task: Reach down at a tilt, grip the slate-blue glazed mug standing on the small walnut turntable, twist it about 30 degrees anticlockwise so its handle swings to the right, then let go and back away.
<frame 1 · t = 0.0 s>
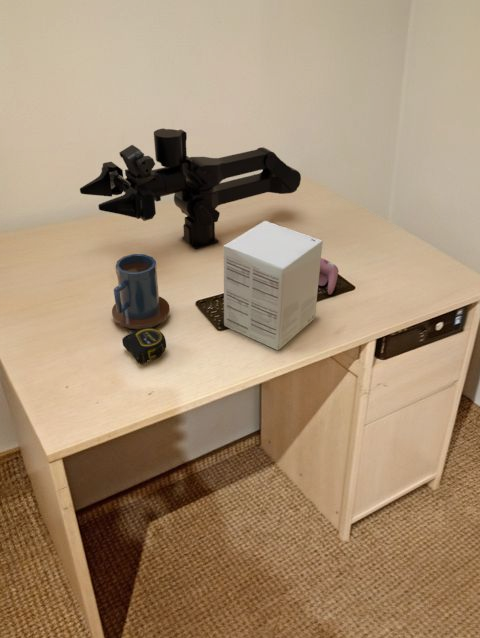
hand: (89, 199, 123), 17 cm above the table, tool horizontal, fingers open, 9 cm apart
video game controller: (313, 286, 131), on the table
turntable base: (141, 317, 119), on the table
tape measure: (144, 356, 110), on the table
supplement box: (269, 323, 119), on the table
mug: (137, 289, 115), point 7 cm above the table, hinge at 0.0°
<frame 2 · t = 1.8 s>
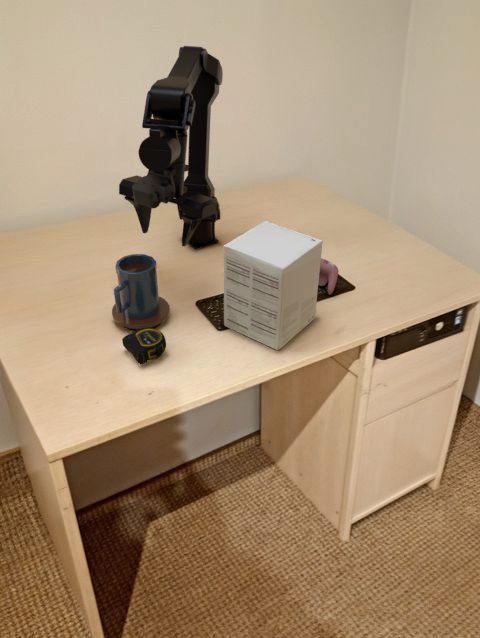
hand: (164, 239, 120), 12 cm above the table, tool pointing down, fingers open, 9 cm apart
nothing on the table moved.
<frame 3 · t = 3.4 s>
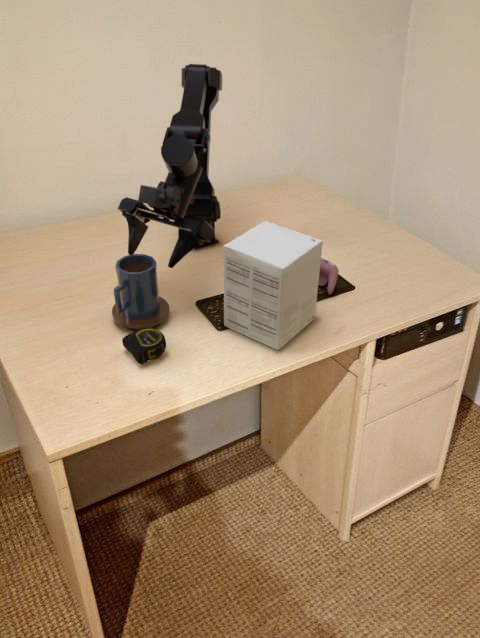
hand: (149, 261, 115), 11 cm above the table, tool tilted 45°, fingers open, 9 cm apart
nothing on the table moved.
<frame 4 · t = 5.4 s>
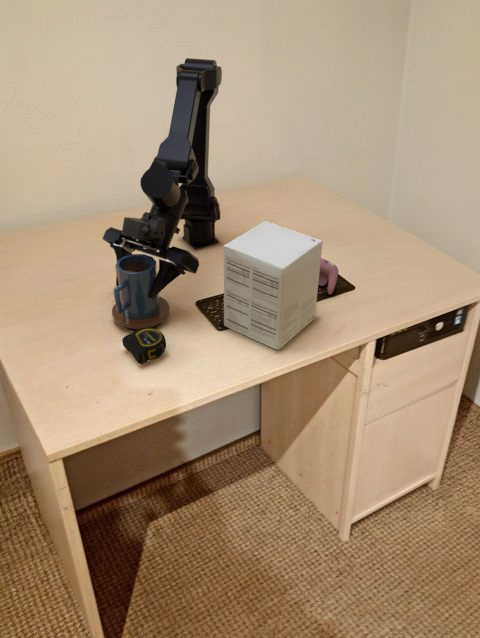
hand: (134, 292, 114), 7 cm above the table, tool tilted 45°, fingers closed on mug, 7 cm apart
mug: (137, 289, 115), point 7 cm above the table, hinge at -0.1°, touching gripper
everything else where it was.
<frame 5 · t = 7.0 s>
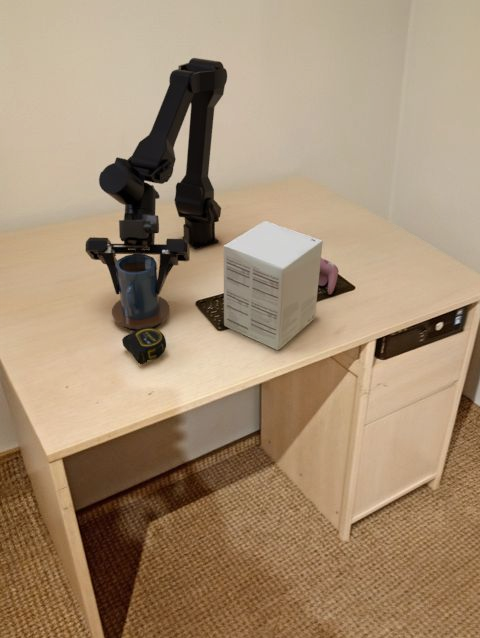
hand: (137, 293, 114), 7 cm above the table, tool tilted 45°, fingers closed on mug, 7 cm apart
mug: (138, 290, 115), point 7 cm above the table, hinge at 22.9°, touching gripper
everything else where it was.
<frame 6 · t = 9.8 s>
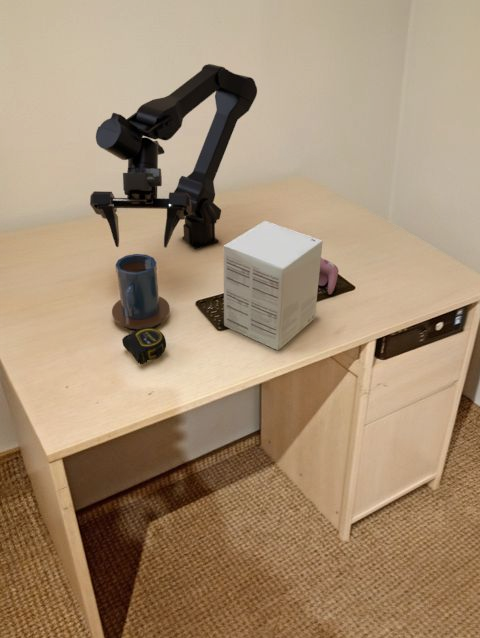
hand: (141, 246, 117), 12 cm above the table, tool tilted 45°, fingers open, 9 cm apart
mug: (138, 290, 115), point 7 cm above the table, hinge at 23.0°
everything else where it was.
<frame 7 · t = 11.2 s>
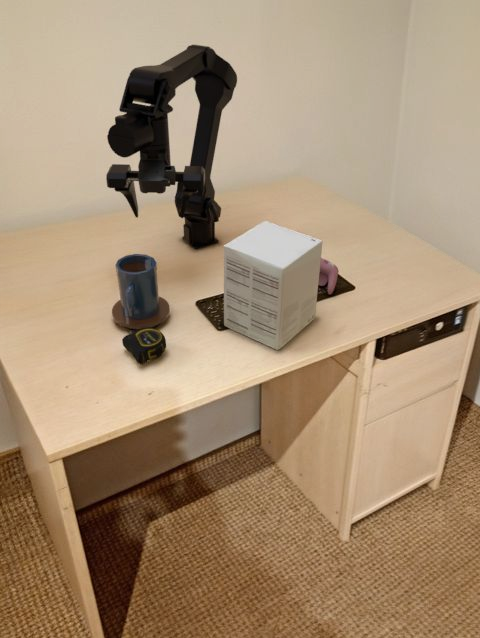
hand: (159, 217, 125), 13 cm above the table, tool pointing down, fingers open, 9 cm apart
nothing on the table moved.
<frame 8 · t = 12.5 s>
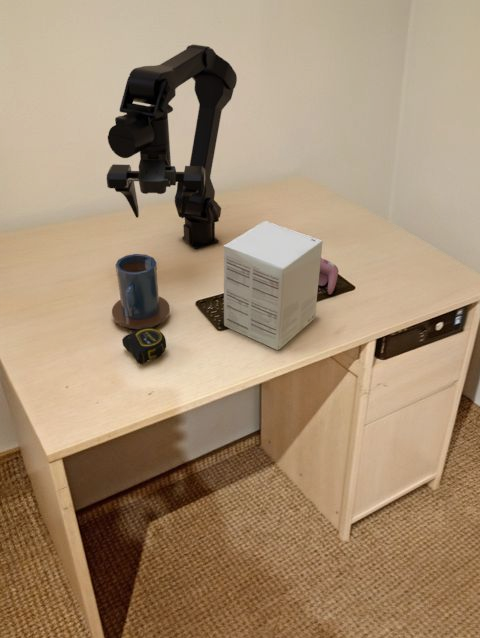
hand: (160, 217, 125), 13 cm above the table, tool pointing down, fingers open, 9 cm apart
nothing on the table moved.
at the end: mug at +23° (first picture: +0°); the gripper is holding nothing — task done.
